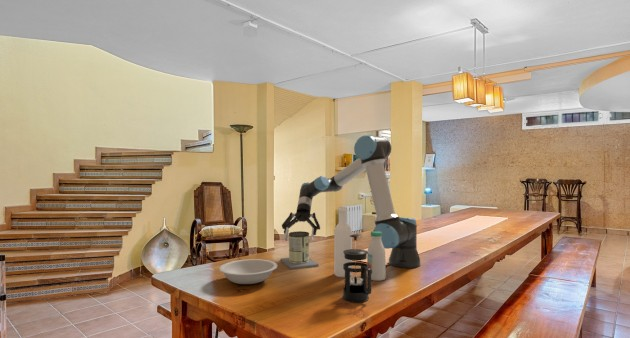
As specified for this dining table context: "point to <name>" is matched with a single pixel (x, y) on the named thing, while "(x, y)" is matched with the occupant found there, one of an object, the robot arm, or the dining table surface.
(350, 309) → the dining table surface
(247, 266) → the soup bowl
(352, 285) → the french press
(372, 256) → the milk bottle
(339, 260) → the bottle
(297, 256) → the coffee can
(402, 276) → the dining table surface
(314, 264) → the grey mat
